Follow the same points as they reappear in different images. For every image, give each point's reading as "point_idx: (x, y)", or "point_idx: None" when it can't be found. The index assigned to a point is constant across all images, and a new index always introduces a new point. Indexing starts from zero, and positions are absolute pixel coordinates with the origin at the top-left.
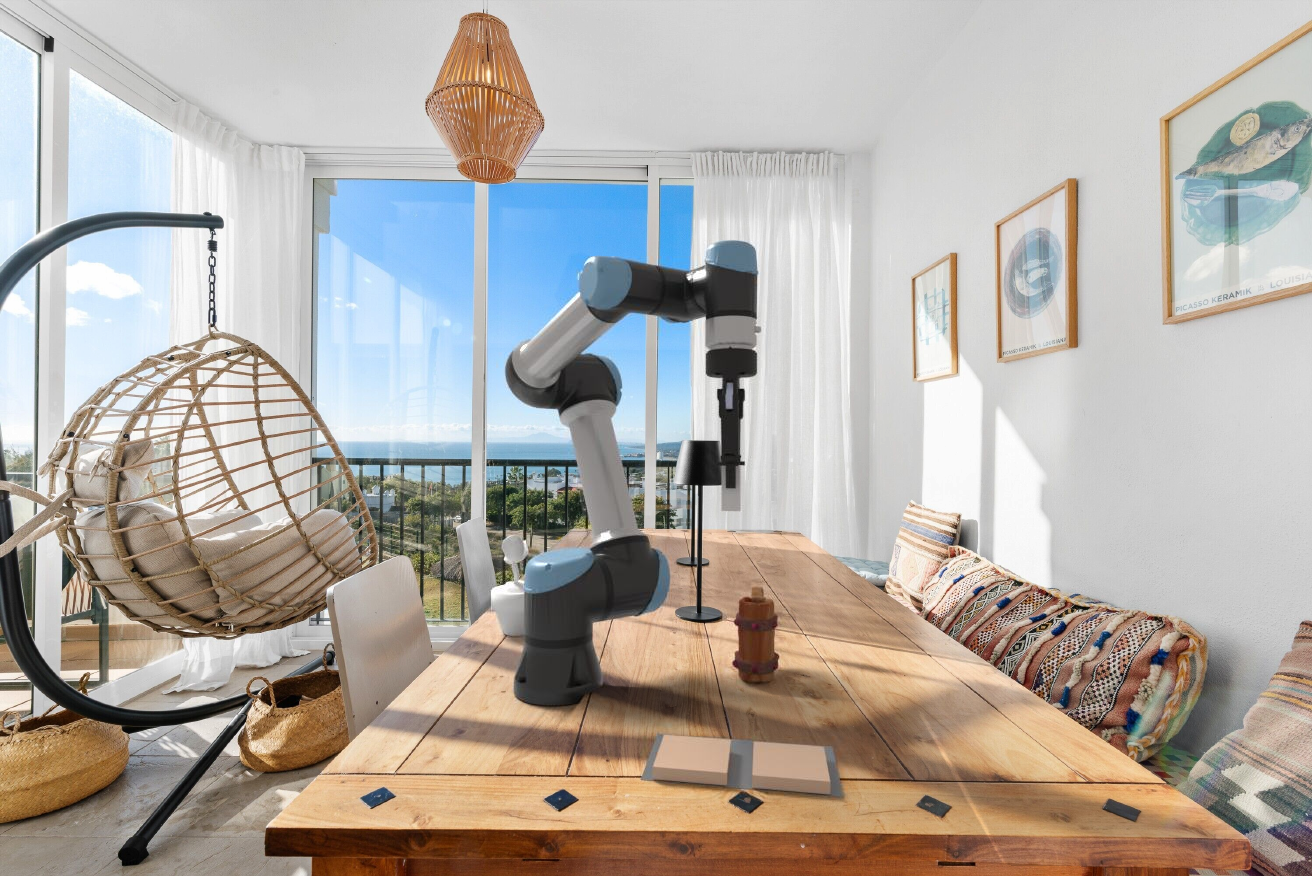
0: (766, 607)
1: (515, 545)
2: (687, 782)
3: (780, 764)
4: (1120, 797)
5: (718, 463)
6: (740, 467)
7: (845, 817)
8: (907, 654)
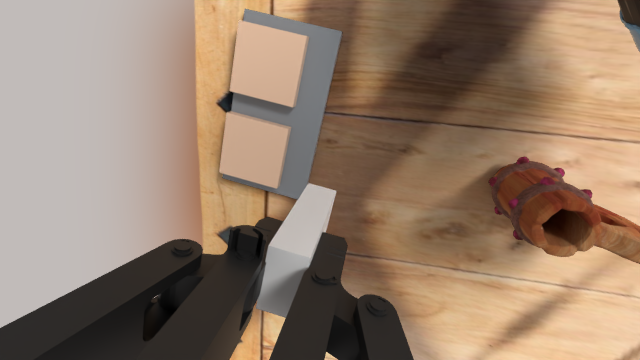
0: (529, 235)
1: None
2: None
3: (245, 141)
4: (243, 348)
5: (232, 232)
6: (285, 313)
7: (214, 172)
8: None
